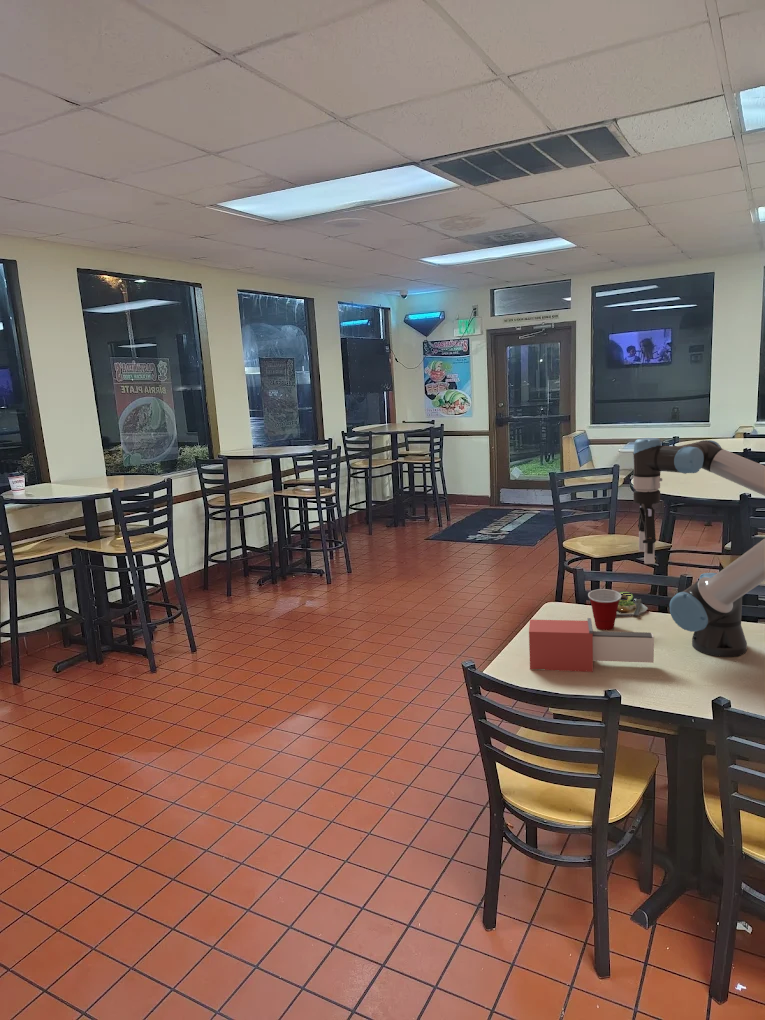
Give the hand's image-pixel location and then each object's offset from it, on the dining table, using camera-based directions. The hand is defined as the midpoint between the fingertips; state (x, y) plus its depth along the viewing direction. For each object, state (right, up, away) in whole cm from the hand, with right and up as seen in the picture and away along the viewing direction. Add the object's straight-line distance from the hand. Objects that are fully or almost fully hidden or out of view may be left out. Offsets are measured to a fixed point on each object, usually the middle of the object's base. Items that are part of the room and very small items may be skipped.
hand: (646, 557), depth 207 cm
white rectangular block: (-11, -30, -8) cm, 33 cm away
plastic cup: (-6, -26, +22) cm, 34 cm away
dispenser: (-27, -32, -3) cm, 42 cm away
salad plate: (+6, -22, +39) cm, 45 cm away
